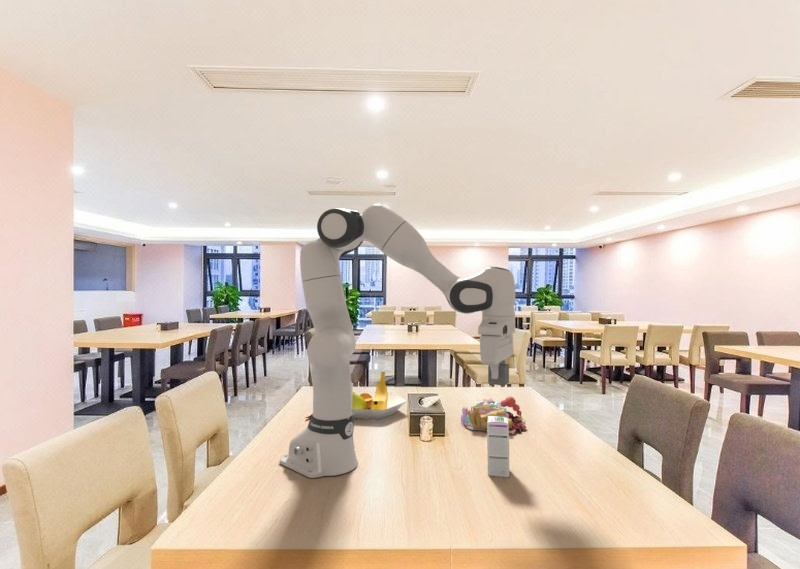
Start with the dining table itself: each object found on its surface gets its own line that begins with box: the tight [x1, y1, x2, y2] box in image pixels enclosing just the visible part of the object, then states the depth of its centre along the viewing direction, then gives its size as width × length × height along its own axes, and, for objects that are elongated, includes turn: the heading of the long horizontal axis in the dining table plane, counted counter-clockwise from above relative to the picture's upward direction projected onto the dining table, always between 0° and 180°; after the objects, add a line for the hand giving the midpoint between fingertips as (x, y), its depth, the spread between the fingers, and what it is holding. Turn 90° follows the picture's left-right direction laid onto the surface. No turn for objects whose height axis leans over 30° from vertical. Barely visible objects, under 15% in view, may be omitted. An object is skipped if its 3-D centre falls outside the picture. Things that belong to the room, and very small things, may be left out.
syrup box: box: [486, 416, 510, 478], centre depth 111 cm, size 6×6×14 cm
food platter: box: [460, 396, 527, 435], centre depth 152 cm, size 25×24×9 cm
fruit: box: [352, 371, 407, 420], centre depth 165 cm, size 30×26×14 cm
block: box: [487, 363, 510, 387], centre depth 111 cm, size 4×4×5 cm
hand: (498, 376), depth 111 cm, fingers closed on block, 4 cm apart
